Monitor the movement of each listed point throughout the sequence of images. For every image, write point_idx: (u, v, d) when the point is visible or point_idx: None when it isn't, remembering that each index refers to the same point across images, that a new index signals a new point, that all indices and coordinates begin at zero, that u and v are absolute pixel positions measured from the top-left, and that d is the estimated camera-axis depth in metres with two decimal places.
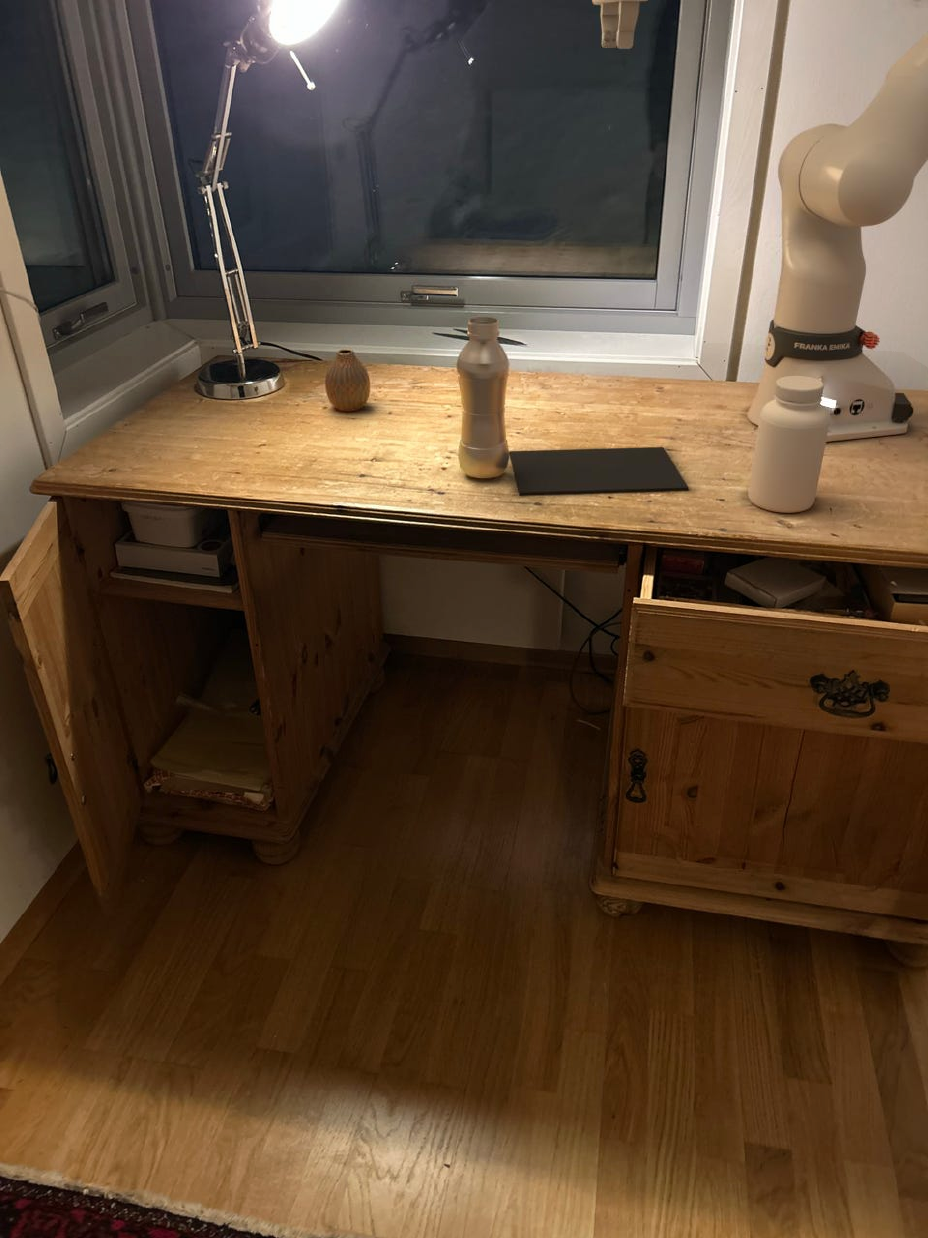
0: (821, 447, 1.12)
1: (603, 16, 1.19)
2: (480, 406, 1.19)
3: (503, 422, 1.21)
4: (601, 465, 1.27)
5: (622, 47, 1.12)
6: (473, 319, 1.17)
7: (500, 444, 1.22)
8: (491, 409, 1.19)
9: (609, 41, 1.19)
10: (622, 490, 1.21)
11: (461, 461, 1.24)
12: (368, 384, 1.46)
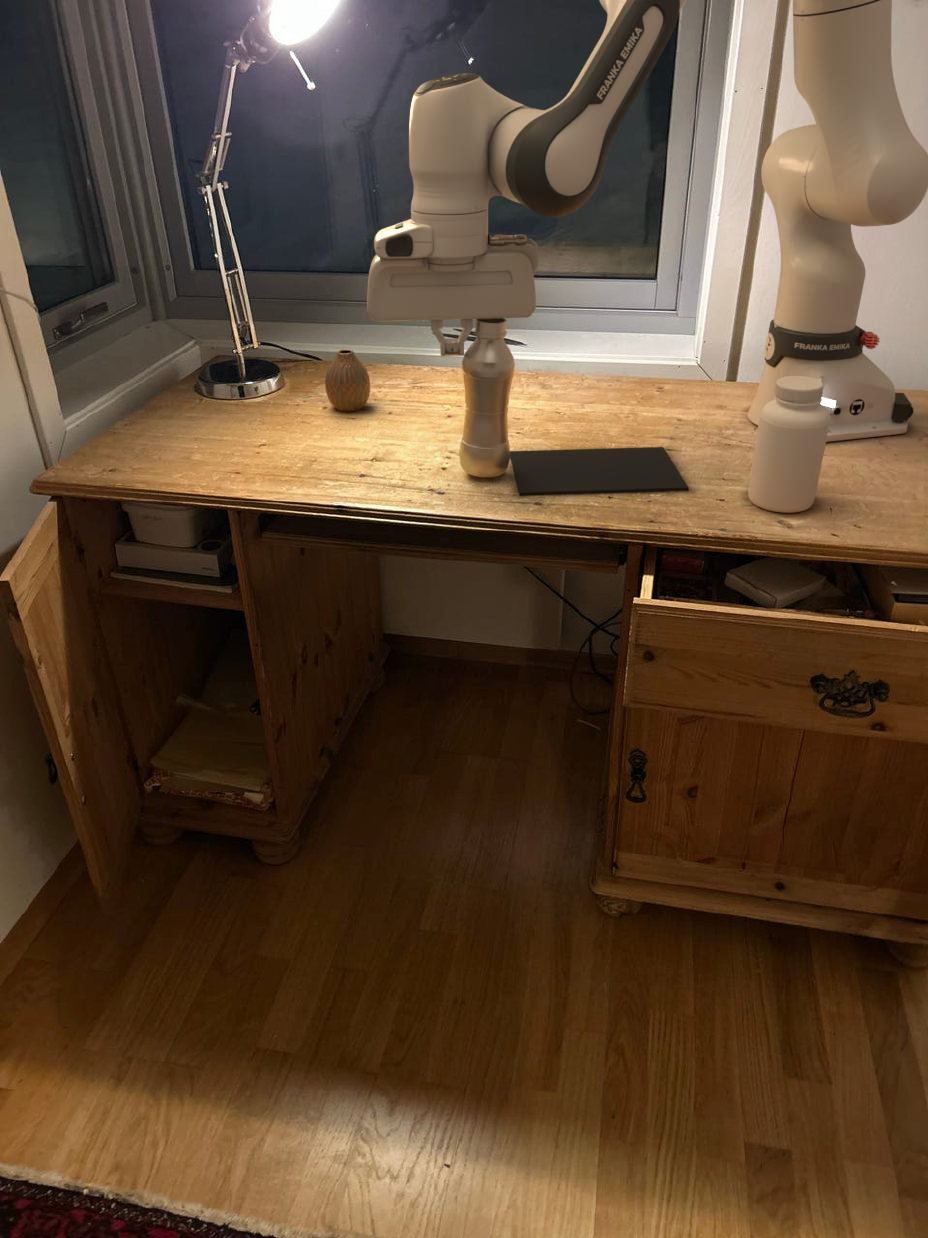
0: (821, 447, 1.12)
1: (438, 329, 1.15)
2: (484, 404, 1.19)
3: (506, 422, 1.21)
4: (601, 465, 1.27)
5: None
6: None
7: (502, 444, 1.22)
8: (495, 408, 1.19)
9: (451, 349, 1.17)
10: (622, 490, 1.21)
11: (462, 459, 1.24)
12: (368, 384, 1.46)
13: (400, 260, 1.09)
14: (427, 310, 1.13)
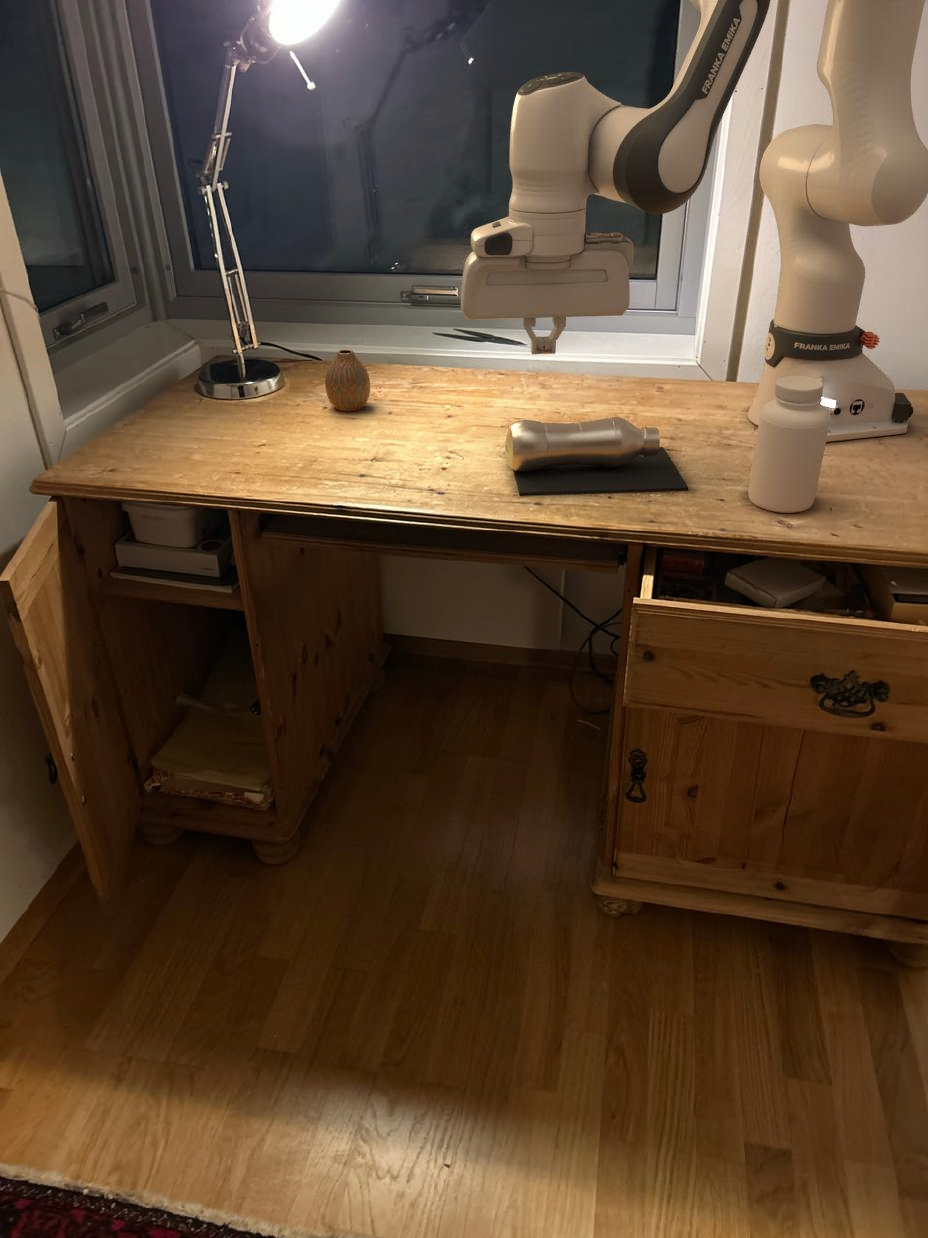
0: (821, 447, 1.12)
1: None
2: (586, 446, 1.23)
3: (562, 465, 1.25)
4: None
5: None
6: None
7: (544, 465, 1.24)
8: (582, 456, 1.23)
9: None
10: (622, 490, 1.21)
11: (526, 426, 1.22)
12: (368, 384, 1.46)
13: (498, 258, 1.10)
14: (522, 308, 1.14)
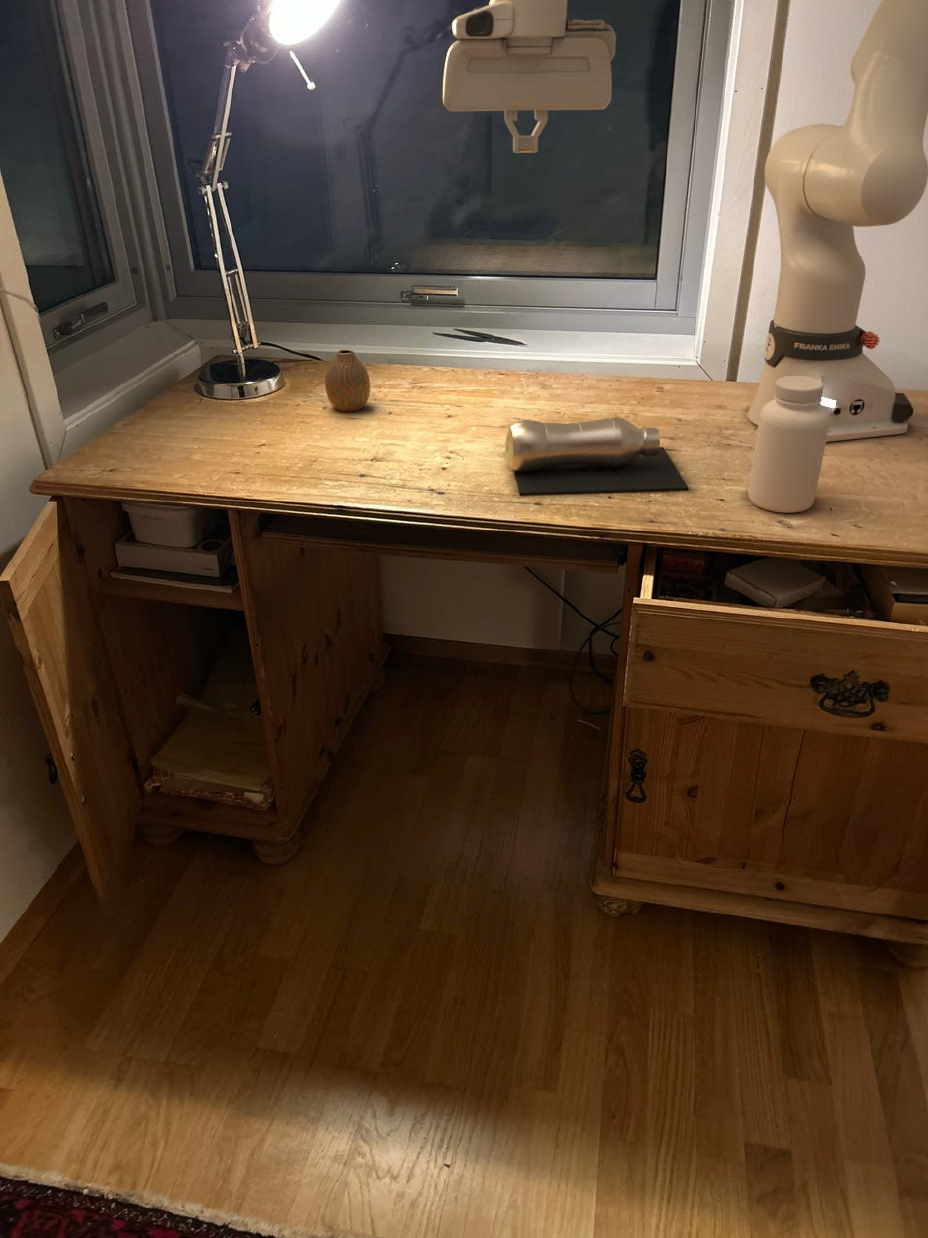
0: (821, 447, 1.12)
1: None
2: (586, 446, 1.23)
3: (562, 465, 1.25)
4: None
5: None
6: None
7: (544, 465, 1.24)
8: (582, 456, 1.23)
9: None
10: (622, 490, 1.21)
11: (526, 426, 1.22)
12: (368, 384, 1.46)
13: (479, 41, 1.09)
14: (503, 99, 1.13)
